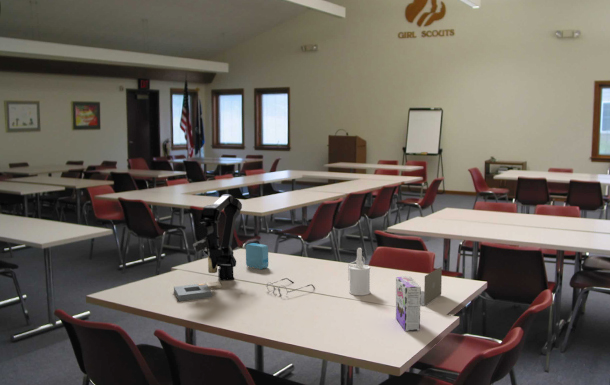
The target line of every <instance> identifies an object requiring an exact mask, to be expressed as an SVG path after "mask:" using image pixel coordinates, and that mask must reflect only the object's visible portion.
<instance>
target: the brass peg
mask: <svg viewBox="0 0 610 385" xmlns="http://www.w3.org/2000/svg"><path fill="white" fill-rule="evenodd" d="M207 268H208V274H216V273H218V266H217V265H216V267H215V269H213V268H212V264H211V259H210V257H209V256H208V255H207Z"/></svg>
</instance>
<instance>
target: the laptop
mask: <svg viewBox="0 0 610 385" xmlns="http://www.w3.org/2000/svg"><path fill="white" fill-rule="evenodd" d="M442 271H443V268H442V266H440V267H438V268H436V269H435V270H433V271H430V272H429V273H428V274H426V275H424V286H423V287H424V291H423V290H421V299H420V306H422V307H425V306H427V305H429V304H431V303H432V302H433V301H435V300H436V299H438V298H439V297H441V295H442V279H443V276H442Z"/></svg>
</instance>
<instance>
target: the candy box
mask: <svg viewBox="0 0 610 385" xmlns="http://www.w3.org/2000/svg"><path fill="white" fill-rule="evenodd" d="M421 291H422V288H421V285H420V284H418V283H417V282H416V281H415V280H414V279H413V278H412V277H411V276H396V277H395V320H396V321H397V322H398V323H399V325H400V326H401V328H402V329H403V330H404V332H420V331H421V305H420V299H421Z"/></svg>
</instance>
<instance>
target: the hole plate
mask: <svg viewBox="0 0 610 385" xmlns="http://www.w3.org/2000/svg"><path fill="white" fill-rule="evenodd" d="M173 292H174V294H175V296H176V298H177V300H178V301H179V302H184V301H190V300H191V301H192V300H199V299H207V298H208V299H209V298H212V297H213V292H212V289H209V288H208V286H207V285H206V282H205V283H204V282H203V283H196V284H186V285H176V286H173Z"/></svg>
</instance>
